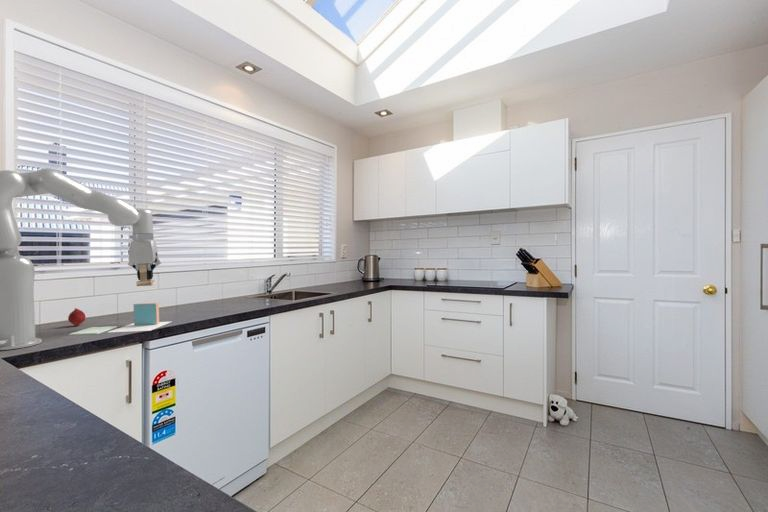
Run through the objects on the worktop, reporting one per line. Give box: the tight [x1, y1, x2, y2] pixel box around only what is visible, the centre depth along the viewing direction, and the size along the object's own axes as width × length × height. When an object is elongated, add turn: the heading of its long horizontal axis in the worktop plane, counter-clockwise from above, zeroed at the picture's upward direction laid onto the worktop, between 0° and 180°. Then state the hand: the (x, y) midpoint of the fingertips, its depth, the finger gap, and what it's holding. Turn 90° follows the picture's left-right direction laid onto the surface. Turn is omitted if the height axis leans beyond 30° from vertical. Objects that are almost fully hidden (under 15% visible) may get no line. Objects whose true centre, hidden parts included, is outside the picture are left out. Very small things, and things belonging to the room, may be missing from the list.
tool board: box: [68, 325, 118, 336], centre depth 144 cm, size 12×10×1 cm
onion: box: [67, 307, 86, 327], centre depth 159 cm, size 6×6×8 cm
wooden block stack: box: [136, 263, 156, 287], centre depth 160 cm, size 3×6×10 cm, turn 97°
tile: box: [133, 302, 160, 326], centre depth 154 cm, size 2×9×9 cm, turn 96°
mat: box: [108, 321, 171, 333], centre depth 150 cm, size 18×16×1 cm
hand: (145, 279), depth 160 cm, fingers closed on wooden block stack, 3 cm apart
